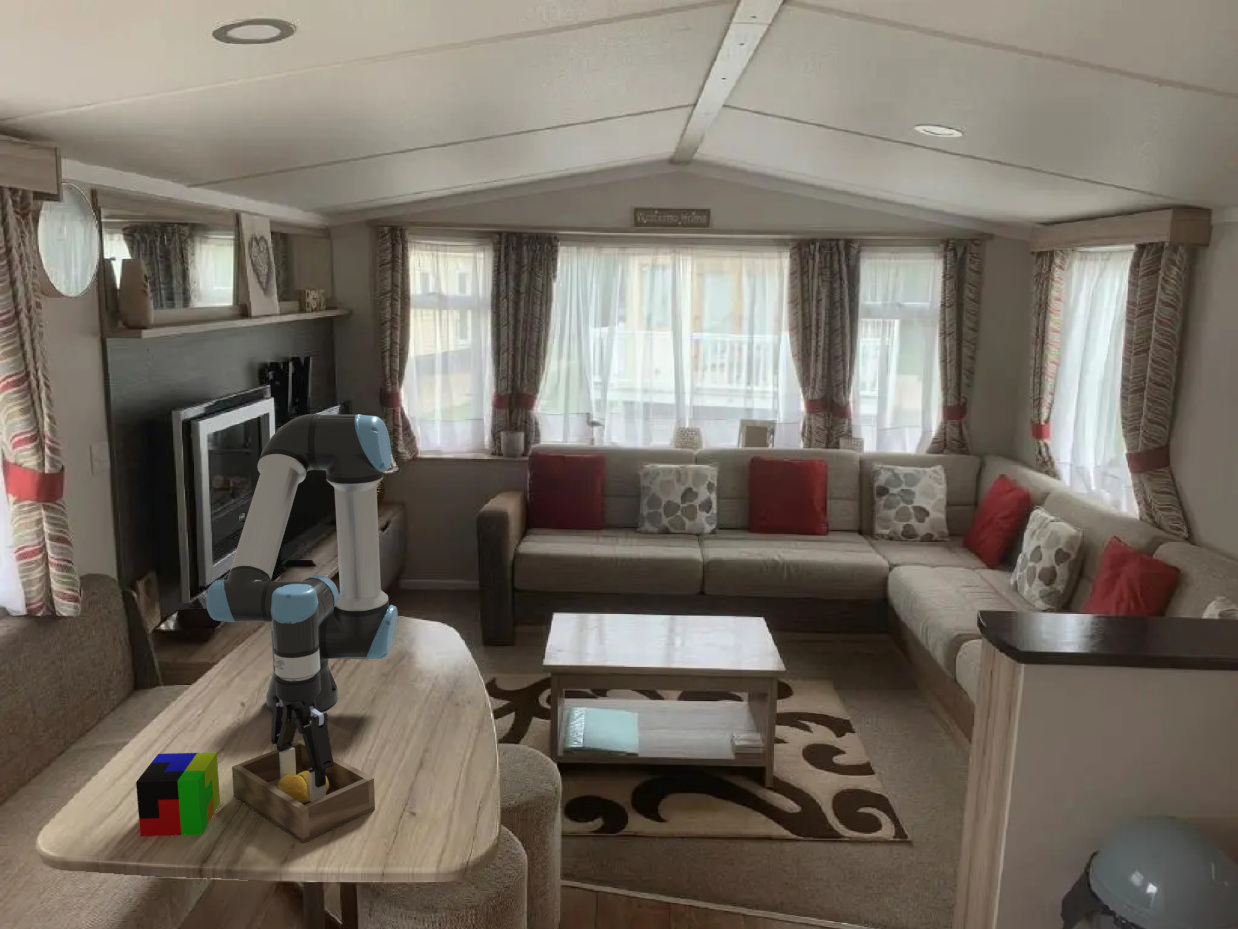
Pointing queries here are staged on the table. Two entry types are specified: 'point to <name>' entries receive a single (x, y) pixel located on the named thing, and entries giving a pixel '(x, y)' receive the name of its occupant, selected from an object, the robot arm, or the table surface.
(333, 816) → the wooden box
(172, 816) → the puzzle toy
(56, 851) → the table surface
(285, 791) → the bread roll
